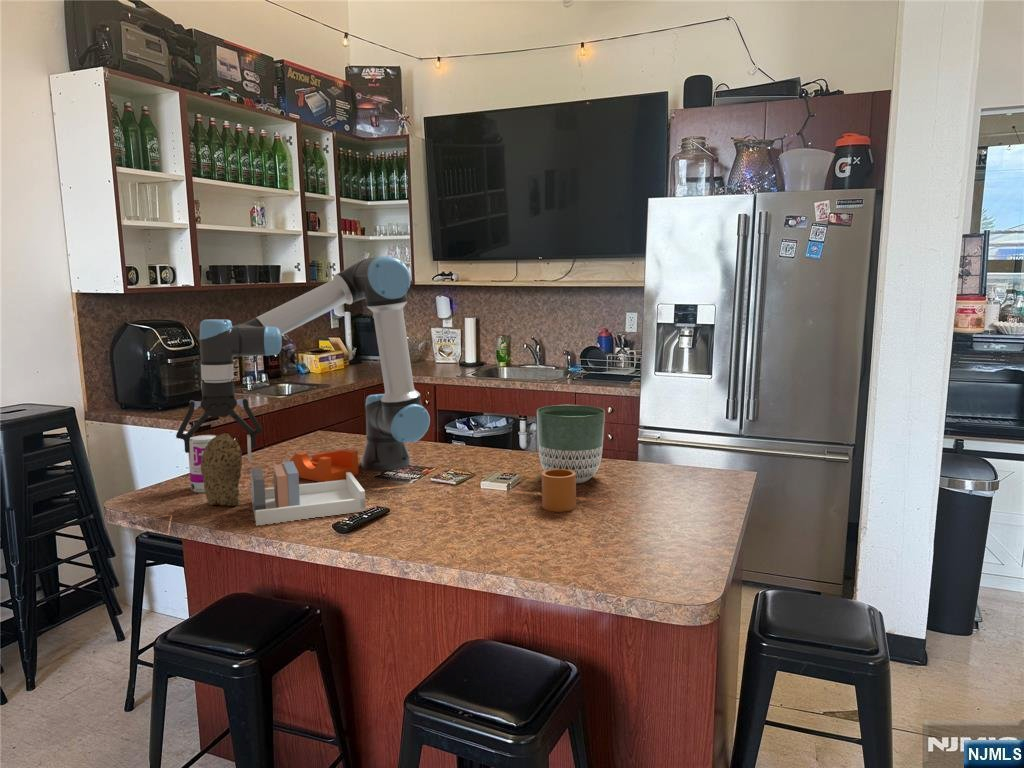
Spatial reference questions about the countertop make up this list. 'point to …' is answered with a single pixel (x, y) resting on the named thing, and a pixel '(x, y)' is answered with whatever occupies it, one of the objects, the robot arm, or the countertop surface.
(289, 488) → the book row
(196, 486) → the supplement can
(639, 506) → the countertop surface
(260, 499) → the dark gray book
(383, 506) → the countertop surface
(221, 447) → the sponge
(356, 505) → the white tray
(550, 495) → the mug
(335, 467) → the tape dispenser
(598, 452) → the planter
